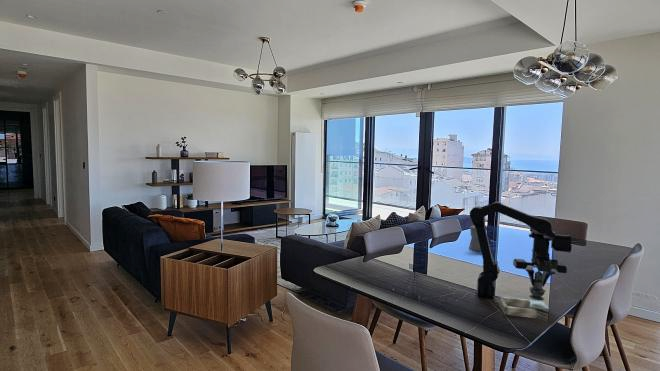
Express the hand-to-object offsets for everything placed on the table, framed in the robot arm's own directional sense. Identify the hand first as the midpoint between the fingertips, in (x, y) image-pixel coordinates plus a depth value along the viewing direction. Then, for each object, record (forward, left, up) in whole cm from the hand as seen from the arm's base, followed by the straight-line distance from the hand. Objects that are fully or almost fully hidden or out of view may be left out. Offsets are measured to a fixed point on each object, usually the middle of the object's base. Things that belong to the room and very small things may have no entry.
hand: (537, 286), depth 154 cm
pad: (0, 0, -8) cm, 8 cm away
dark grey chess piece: (0, 0, -5) cm, 5 cm away
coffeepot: (-10, +93, -8) cm, 94 cm away
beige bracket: (-9, -9, -8) cm, 15 cm away
